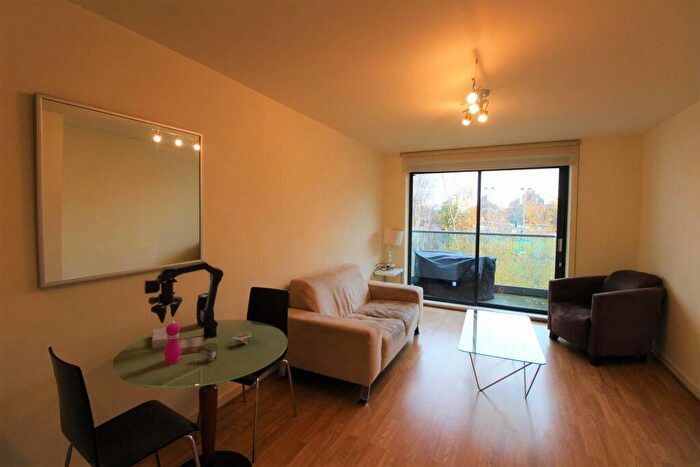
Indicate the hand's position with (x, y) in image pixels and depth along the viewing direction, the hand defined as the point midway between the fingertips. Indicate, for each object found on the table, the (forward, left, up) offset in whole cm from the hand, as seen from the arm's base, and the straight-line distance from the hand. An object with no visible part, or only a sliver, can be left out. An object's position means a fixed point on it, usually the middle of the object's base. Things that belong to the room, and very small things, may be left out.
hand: (167, 319), depth 171 cm
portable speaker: (-18, -23, -14) cm, 33 cm away
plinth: (-11, +8, -13) cm, 19 cm away
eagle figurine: (-19, +26, -14) cm, 35 cm away
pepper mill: (-4, +22, -14) cm, 26 cm away
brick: (+3, -5, -14) cm, 15 cm away
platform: (-37, +12, -14) cm, 42 cm away
